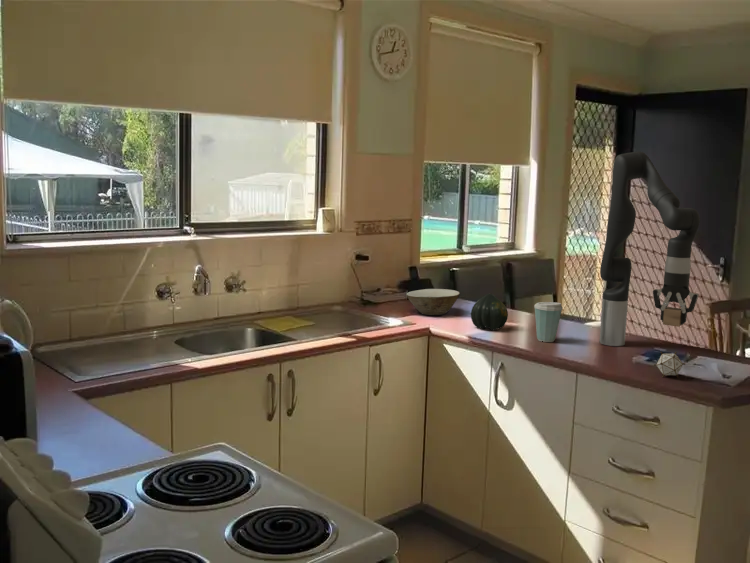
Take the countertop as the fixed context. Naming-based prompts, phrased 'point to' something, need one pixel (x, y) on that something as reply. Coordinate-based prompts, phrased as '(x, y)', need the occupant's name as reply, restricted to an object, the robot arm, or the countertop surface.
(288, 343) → the countertop surface
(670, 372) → the game die
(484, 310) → the squash
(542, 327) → the disposable coffee cup
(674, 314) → the walnut block
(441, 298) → the bowl
